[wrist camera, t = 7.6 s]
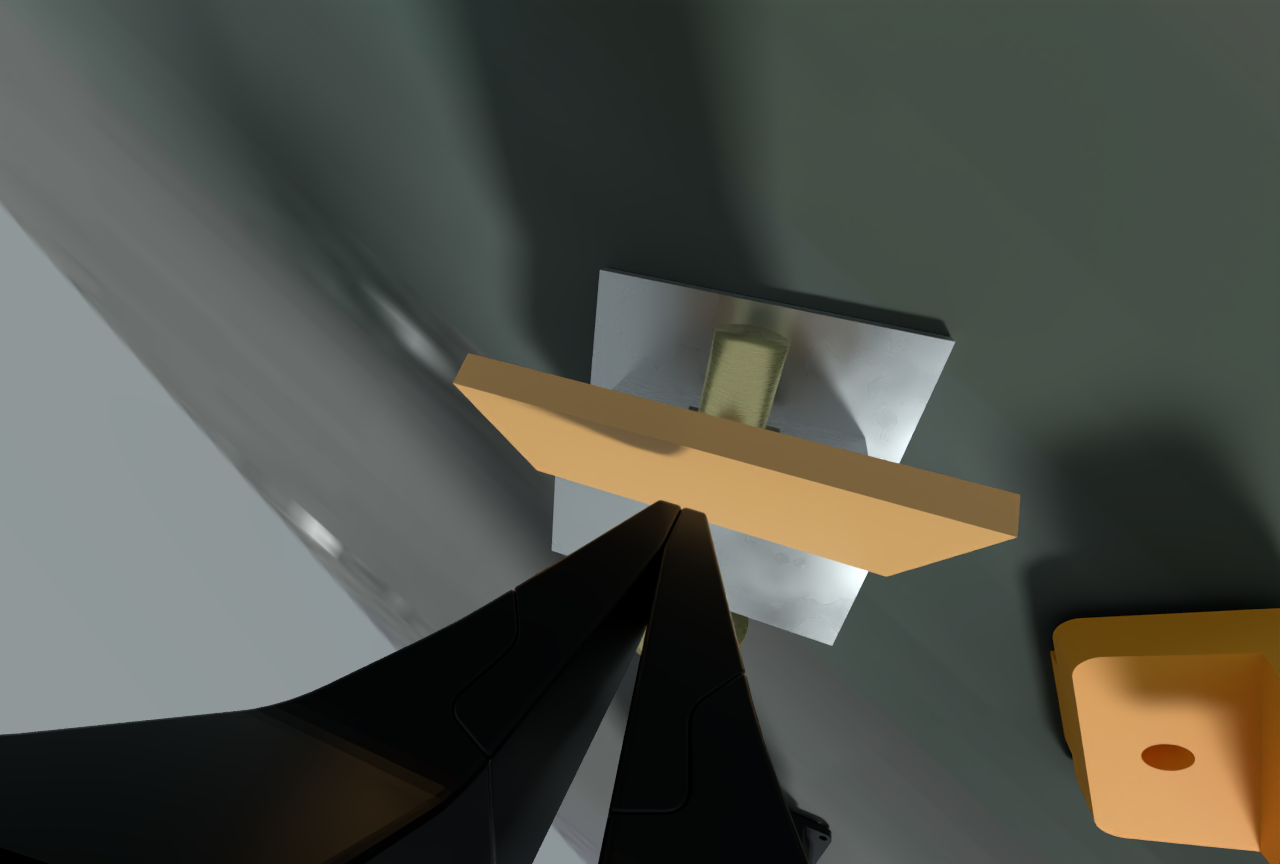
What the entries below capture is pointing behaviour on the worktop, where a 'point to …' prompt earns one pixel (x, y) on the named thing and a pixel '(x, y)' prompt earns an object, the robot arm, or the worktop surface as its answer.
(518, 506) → the worktop surface
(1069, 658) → the bracket
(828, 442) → the hitch block
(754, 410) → the pin
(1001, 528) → the tan flat plate
